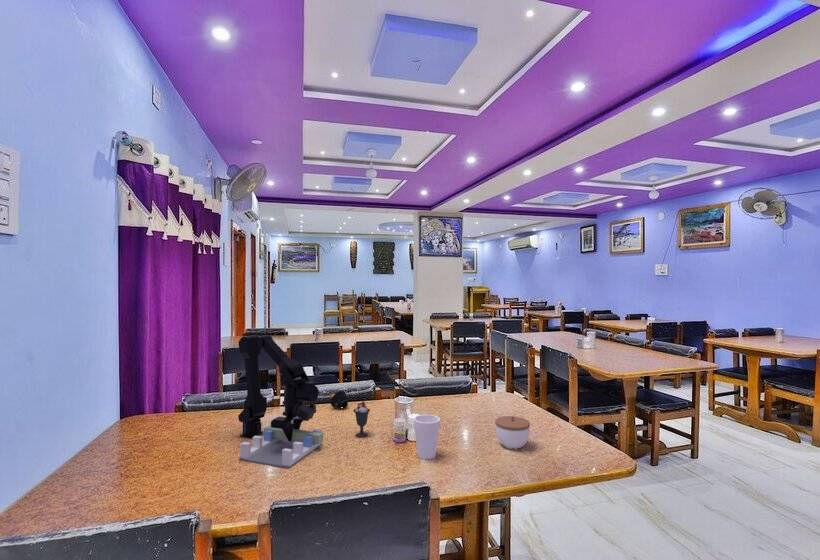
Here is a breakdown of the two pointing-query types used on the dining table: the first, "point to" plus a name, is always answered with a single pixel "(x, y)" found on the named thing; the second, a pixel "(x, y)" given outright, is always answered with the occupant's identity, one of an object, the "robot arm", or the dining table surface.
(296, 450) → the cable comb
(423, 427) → the foam cup
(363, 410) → the sundae
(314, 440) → the green flat block
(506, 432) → the lidded bowl
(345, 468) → the dining table surface
